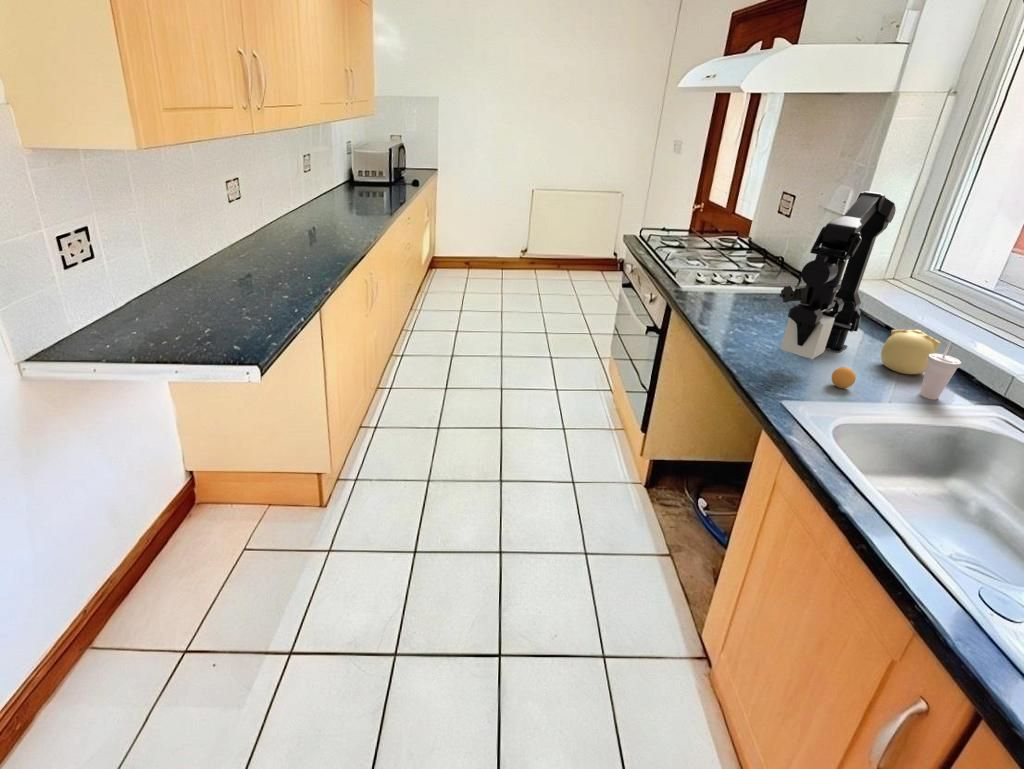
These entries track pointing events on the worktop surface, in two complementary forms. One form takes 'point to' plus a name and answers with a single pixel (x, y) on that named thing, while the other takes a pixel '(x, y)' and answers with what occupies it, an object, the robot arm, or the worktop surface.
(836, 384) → the ball
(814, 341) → the chalk-white cube
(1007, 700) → the worktop surface
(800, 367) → the worktop surface
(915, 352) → the pale yellow rounded lump
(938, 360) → the smoothie
